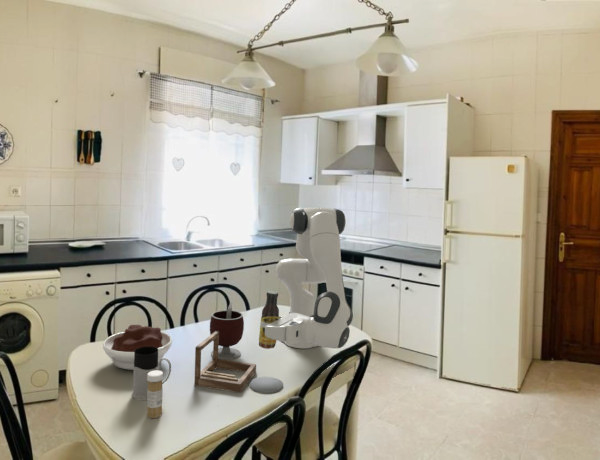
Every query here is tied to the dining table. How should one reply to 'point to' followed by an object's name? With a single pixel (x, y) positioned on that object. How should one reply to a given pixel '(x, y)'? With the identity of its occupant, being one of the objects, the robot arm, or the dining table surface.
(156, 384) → the sprinkles bottle
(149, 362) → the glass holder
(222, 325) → the mate gourd
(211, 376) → the birch offcuts
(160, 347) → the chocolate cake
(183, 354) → the dining table surface
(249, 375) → the walnut rack
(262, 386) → the slate mat
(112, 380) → the dining table surface
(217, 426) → the dining table surface
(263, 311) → the sauce bottle
